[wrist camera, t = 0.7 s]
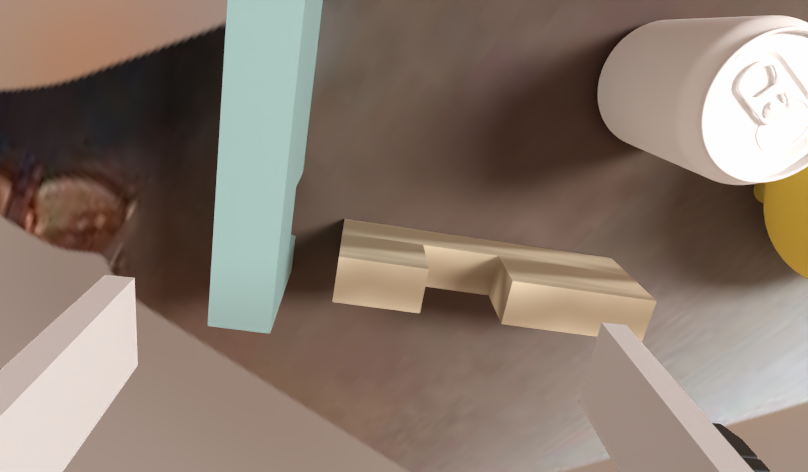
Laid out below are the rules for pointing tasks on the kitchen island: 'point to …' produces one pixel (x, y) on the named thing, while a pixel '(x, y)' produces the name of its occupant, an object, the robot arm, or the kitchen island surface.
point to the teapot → (787, 217)
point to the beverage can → (713, 95)
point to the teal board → (260, 156)
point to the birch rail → (488, 278)
